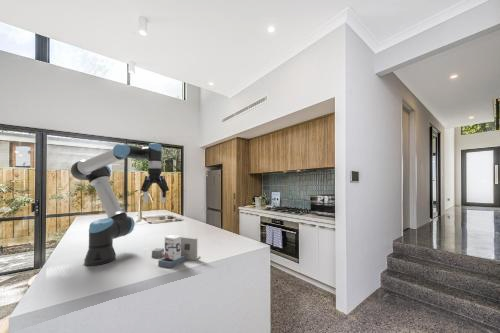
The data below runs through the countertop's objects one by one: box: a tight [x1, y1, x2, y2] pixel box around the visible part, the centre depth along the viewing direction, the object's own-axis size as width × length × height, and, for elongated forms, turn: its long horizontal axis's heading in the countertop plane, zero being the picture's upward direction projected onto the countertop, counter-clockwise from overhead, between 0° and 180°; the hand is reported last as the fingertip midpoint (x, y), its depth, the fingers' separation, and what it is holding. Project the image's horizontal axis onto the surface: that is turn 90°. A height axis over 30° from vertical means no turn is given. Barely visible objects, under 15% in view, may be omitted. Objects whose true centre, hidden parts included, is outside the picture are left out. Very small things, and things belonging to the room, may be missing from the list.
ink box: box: [163, 234, 182, 260], centre depth 124 cm, size 8×5×12 cm, turn 60°
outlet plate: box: [181, 236, 201, 261], centre depth 133 cm, size 20×5×12 cm, turn 69°
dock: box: [157, 254, 187, 269], centre depth 123 cm, size 9×13×3 cm
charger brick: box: [151, 247, 165, 259], centre depth 134 cm, size 6×5×4 cm
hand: (154, 202), depth 135 cm, fingers open, 13 cm apart
